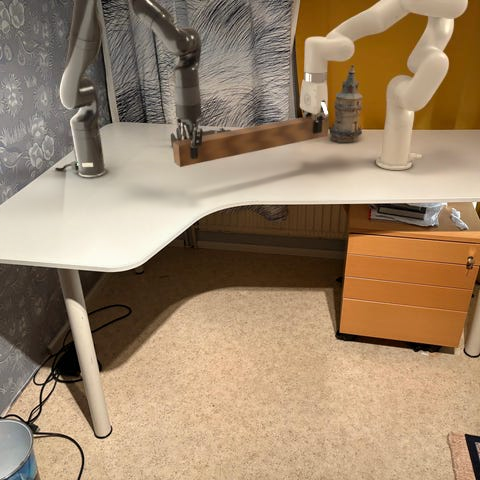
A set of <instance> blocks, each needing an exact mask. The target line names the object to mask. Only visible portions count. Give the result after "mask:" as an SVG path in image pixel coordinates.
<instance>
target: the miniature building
mask: <svg viewBox="0 0 480 480" xmlns="http://www.w3.org/2000/svg"><path fill="white" fill-rule="evenodd" d="M350 66H351V67H350V69H348V75H347V77H346V79H345V81H342V88H341V91H339V92H336V93H335V101H334V102H333V104H334V124H332V126H331V125H329V128H328V133H329V135H331V137H332V141H334V142H338V143H354V142H356V141H357V139H358V138H359V137H360V136H361V135H363V130H362V127H361V125H360V126H359V121H360V116H361V110H362V108H363V103H362V99H363V95H362V94H361V93H360V92H358V87H359V85H360V83H359V81H356V77H355V73H356V71H355V69H354V66H355V64H352V63H351V65H350Z"/></svg>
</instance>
